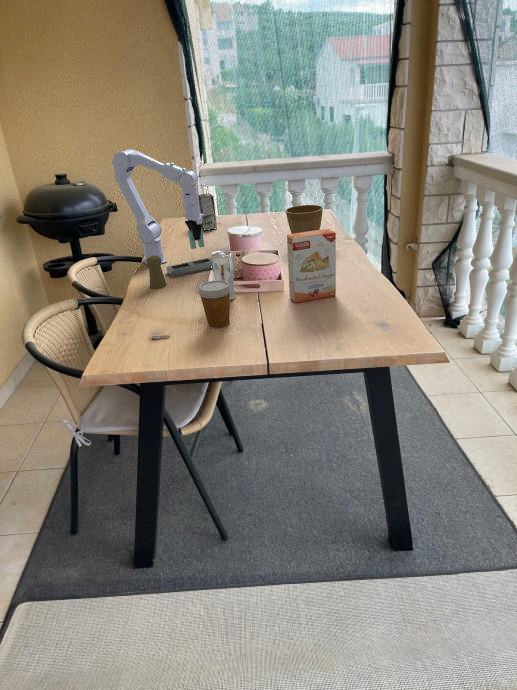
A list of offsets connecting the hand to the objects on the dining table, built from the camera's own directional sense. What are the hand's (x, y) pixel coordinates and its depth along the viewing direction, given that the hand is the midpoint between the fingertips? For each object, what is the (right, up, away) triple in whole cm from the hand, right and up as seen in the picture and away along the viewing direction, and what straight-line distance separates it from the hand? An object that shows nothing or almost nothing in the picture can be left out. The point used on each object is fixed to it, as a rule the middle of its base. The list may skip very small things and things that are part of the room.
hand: (196, 239), depth 205 cm
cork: (-12, -21, -17) cm, 29 cm away
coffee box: (0, +16, +53) cm, 55 cm away
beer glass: (+14, -26, -33) cm, 45 cm away
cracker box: (+42, -27, -39) cm, 63 cm away
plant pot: (+44, -1, +11) cm, 45 cm away
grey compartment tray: (-1, -13, -4) cm, 14 cm away
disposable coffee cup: (+13, -36, -51) cm, 64 cm away
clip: (0, -3, +1) cm, 3 cm away
